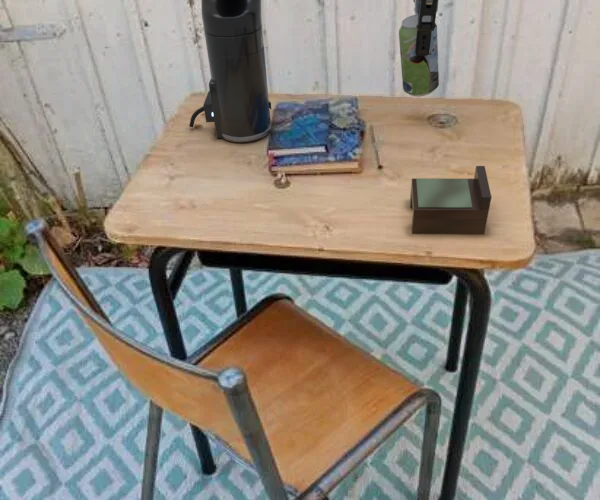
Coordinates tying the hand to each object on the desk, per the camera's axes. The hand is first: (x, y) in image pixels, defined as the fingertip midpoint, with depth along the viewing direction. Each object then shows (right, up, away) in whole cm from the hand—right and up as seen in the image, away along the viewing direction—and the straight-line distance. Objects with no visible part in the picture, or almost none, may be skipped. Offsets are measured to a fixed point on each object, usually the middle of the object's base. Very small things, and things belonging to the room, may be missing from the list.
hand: (420, 46), depth 105 cm
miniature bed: (+1, -31, -12) cm, 33 cm away
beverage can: (0, -5, +6) cm, 8 cm away
